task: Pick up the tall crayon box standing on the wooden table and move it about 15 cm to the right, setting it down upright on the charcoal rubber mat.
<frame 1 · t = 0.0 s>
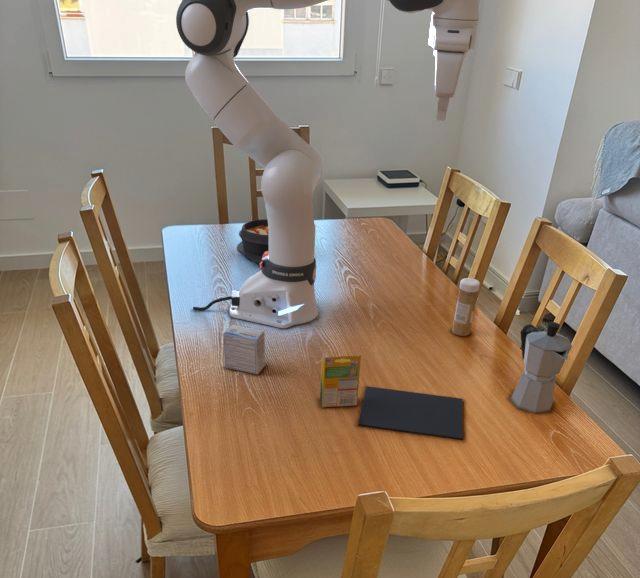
hand: (441, 115, 129), 48 cm above the table, tool pointing down, fingers open, 8 cm apart
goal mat: (411, 412, 127), on the table
casserole: (267, 254, 192), on the table
crayon box: (338, 403, 128), on the table
sprinkles bottle: (460, 333, 156), on the table
medicine box: (245, 367, 138), on the table
coffee maker: (528, 399, 133), on the table
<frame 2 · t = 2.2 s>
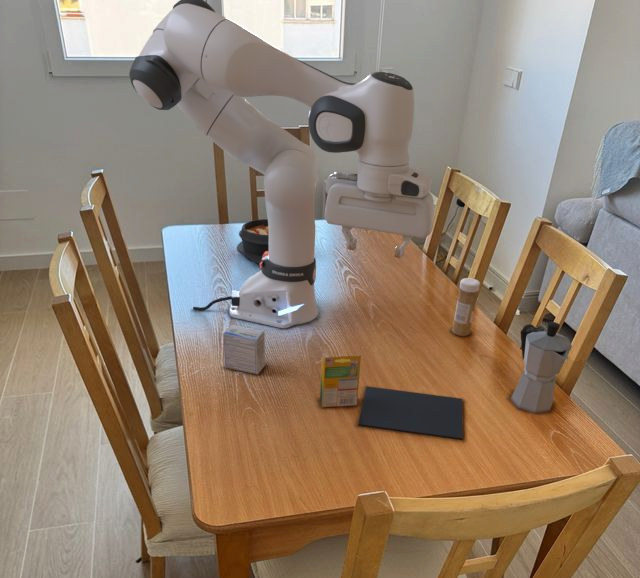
hand: (374, 252, 120), 28 cm above the table, tool pointing down, fingers open, 8 cm apart
nothing on the table moved.
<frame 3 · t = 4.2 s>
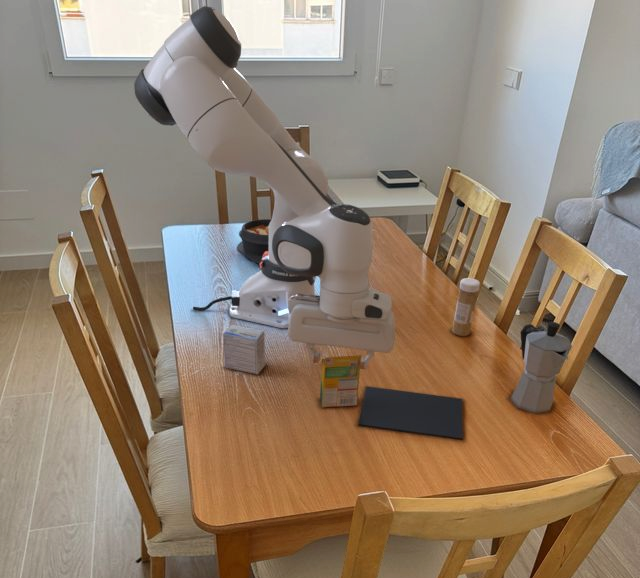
hand: (339, 364, 123), 9 cm above the table, tool pointing down, fingers open, 8 cm apart
crayon box: (338, 403, 128), on the table, touching gripper
everything else where it was.
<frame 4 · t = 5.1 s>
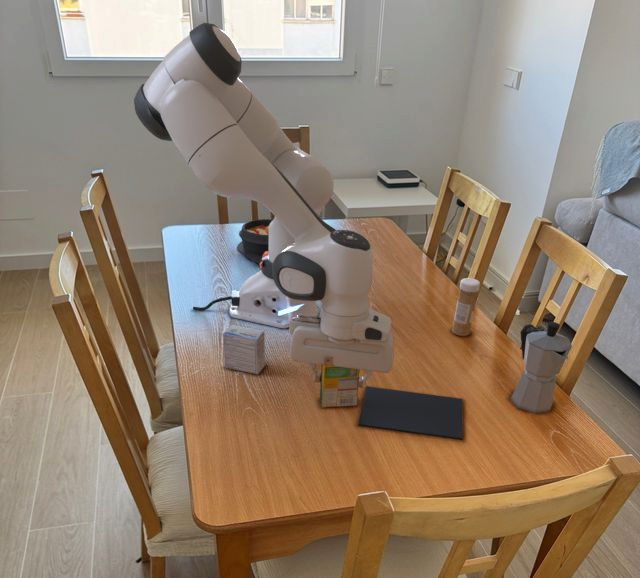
hand: (339, 383, 125), 5 cm above the table, tool pointing down, fingers closed on crayon box, 7 cm apart
crayon box: (337, 403, 128), on the table, touching gripper
everything else where it was.
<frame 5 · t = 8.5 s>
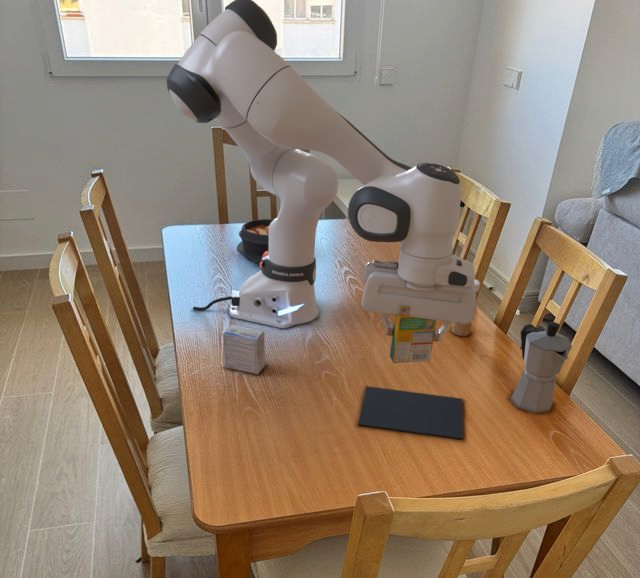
hand: (413, 337, 117), 17 cm above the table, tool pointing down, fingers closed on crayon box, 7 cm apart
crayon box: (409, 359, 120), point 12 cm above the table, touching gripper
everything else where it was.
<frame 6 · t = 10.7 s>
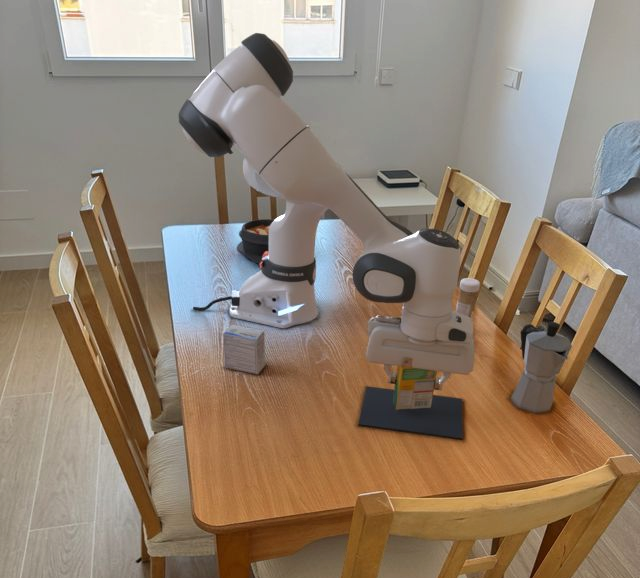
hand: (414, 385, 123), 7 cm above the table, tool pointing down, fingers closed on crayon box, 7 cm apart
crayon box: (411, 405, 126), point 2 cm above the table, touching gripper
everything else where it was.
when the fingers open (5 cm above the table, at t = 11.9 s): crayon box stays where it is, resting on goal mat.
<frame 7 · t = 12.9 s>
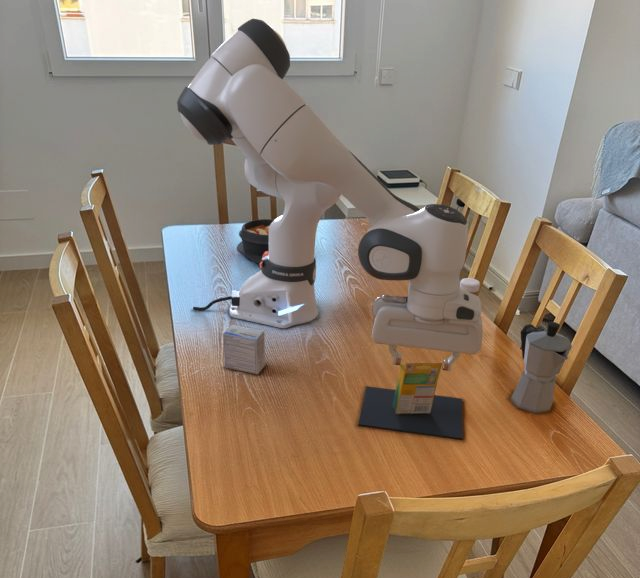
hand: (421, 366, 121), 11 cm above the table, tool pointing down, fingers open, 8 cm apart
crayon box: (410, 410, 126), resting on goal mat
everything else where it was.
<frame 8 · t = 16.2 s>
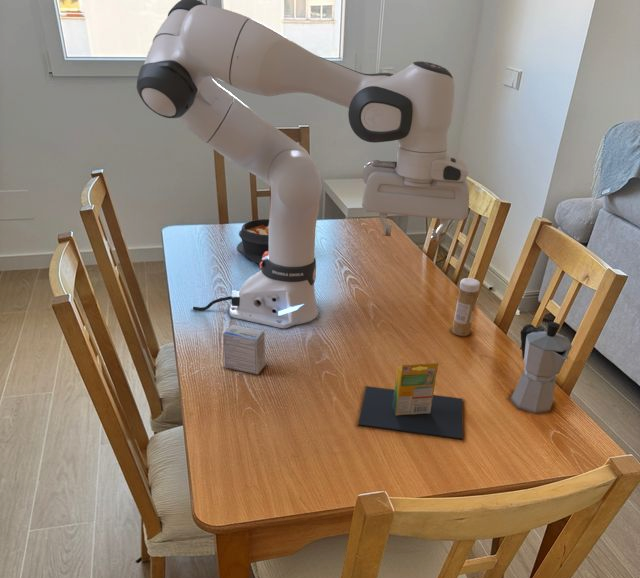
hand: (410, 237, 124), 29 cm above the table, tool pointing down, fingers open, 8 cm apart
nothing on the table moved.
at the end: crayon box inside the target area (0.3 cm from its centre), resting on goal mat; crayon box tilted 0°; crayon box moved 14.7 cm from its start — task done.
